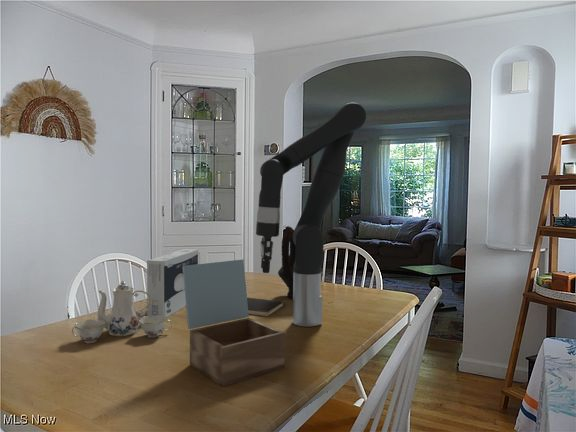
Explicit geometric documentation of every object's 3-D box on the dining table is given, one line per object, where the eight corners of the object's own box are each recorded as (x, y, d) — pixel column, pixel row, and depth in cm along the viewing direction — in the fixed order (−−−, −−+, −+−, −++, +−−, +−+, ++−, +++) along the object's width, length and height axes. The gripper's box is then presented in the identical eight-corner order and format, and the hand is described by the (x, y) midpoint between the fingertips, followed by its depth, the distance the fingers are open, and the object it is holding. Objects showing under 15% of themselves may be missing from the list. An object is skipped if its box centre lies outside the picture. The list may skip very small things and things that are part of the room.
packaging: (163, 319, 155) (163, 261, 153) (147, 318, 156) (146, 260, 155) (198, 298, 184) (198, 249, 183) (184, 297, 186) (184, 248, 184)
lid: (189, 329, 115) (187, 328, 116) (248, 316, 126) (246, 316, 127) (184, 265, 116) (182, 265, 117) (243, 259, 128) (241, 259, 129)
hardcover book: (267, 317, 160) (267, 311, 160) (210, 310, 168) (210, 304, 168) (283, 306, 175) (284, 301, 175) (230, 301, 183) (230, 295, 183)
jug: (294, 289, 203) (295, 222, 201) (330, 295, 192) (332, 224, 190) (265, 298, 186) (265, 225, 184) (302, 305, 175) (303, 228, 173)
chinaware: (71, 355, 126) (69, 297, 123) (73, 331, 141) (71, 279, 138) (174, 342, 137) (175, 289, 134) (165, 321, 152) (166, 273, 149)
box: (189, 364, 116) (189, 330, 115) (248, 349, 127) (248, 317, 127) (222, 386, 103) (222, 348, 103) (284, 367, 115) (284, 332, 114)
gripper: (281, 223, 141) (278, 275, 142) (277, 220, 156) (274, 267, 156) (257, 221, 141) (254, 273, 141) (255, 219, 155) (252, 266, 155)
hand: (265, 270), depth 149 cm, fingers open, 8 cm apart
